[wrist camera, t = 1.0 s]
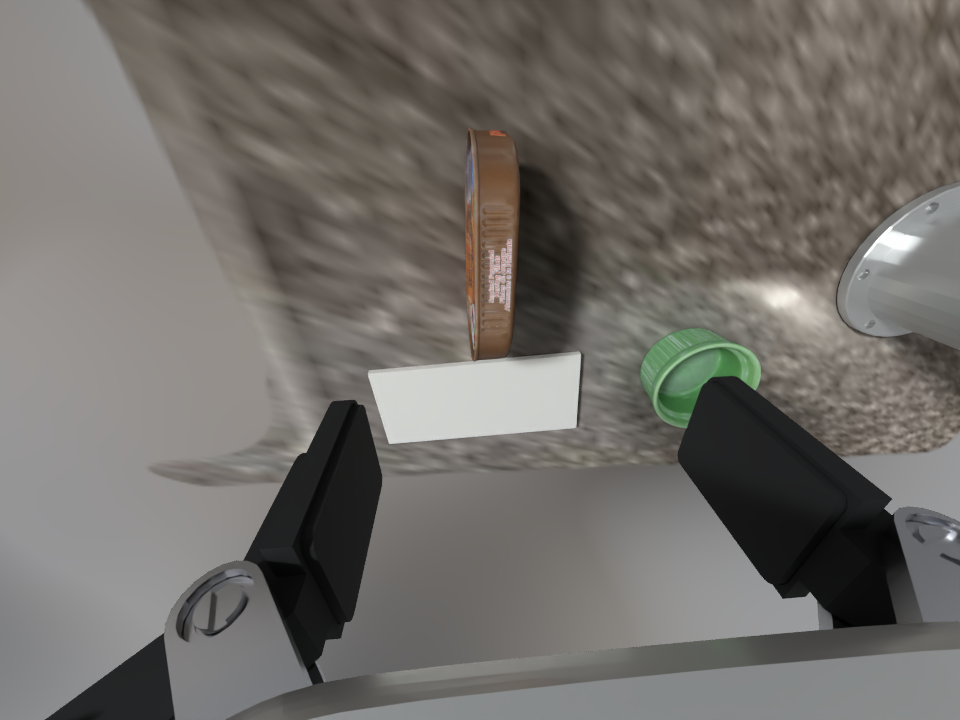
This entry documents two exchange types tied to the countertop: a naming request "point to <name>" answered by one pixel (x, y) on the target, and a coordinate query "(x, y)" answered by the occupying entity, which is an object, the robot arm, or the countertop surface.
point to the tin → (491, 240)
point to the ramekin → (692, 370)
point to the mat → (478, 397)
